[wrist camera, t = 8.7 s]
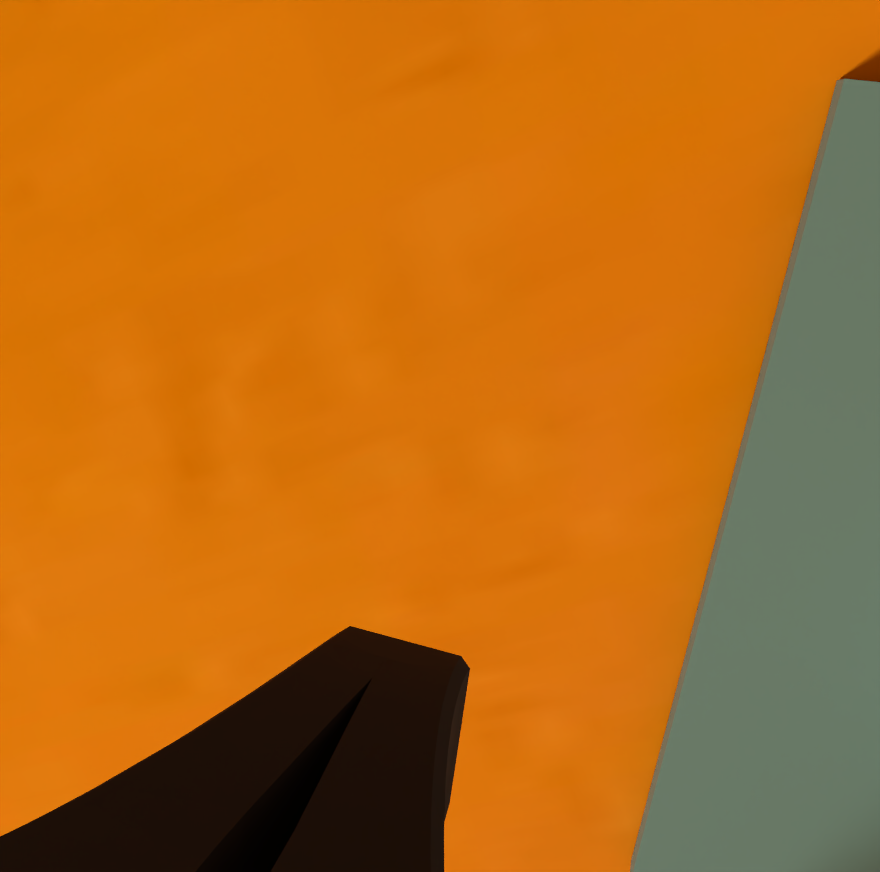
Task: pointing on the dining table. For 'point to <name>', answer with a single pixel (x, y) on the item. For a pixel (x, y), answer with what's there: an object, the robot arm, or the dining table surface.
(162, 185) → the dining table surface
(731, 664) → the socket base
